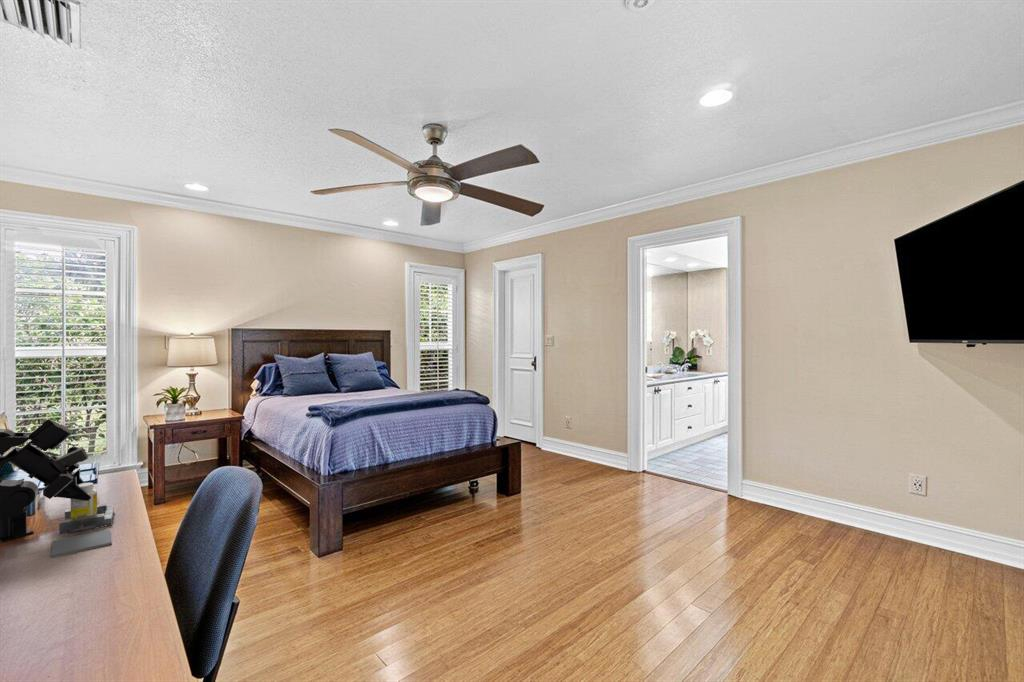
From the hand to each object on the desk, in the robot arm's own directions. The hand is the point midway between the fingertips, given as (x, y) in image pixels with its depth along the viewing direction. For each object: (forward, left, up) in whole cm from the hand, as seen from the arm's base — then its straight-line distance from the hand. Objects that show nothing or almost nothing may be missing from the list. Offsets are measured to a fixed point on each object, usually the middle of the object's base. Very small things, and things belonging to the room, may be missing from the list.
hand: (90, 496), depth 136 cm
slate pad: (+14, -10, -7) cm, 19 cm away
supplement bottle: (-1, -1, -7) cm, 7 cm away
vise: (+2, -2, -7) cm, 8 cm away
